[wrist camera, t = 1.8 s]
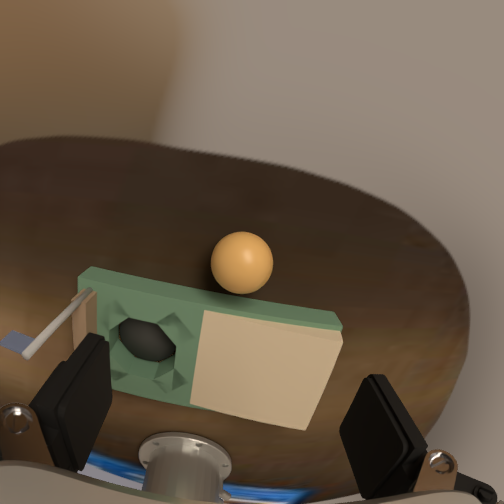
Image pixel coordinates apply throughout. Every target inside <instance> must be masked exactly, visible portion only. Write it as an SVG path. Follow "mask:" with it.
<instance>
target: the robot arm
mask: <svg viewBox="0 0 504 504" xmlns="http://www.w3.org/2000/svg"><path fill="white" fill-rule="evenodd" d="M111 403H112V385H111V370H110V346H109V342H108V341H105V337H104V336H102V335H98V334H95V333H91V332H89V333H88V334H87V335H86V336H85V338H84V339H83V340H82V341H81V343H80V344H79V345H78V347H77V348H76V349H75V351H74V352H73V353H72V355H71V356H70V357H69V359H68V360H67V361H62V362H61V363H60V364H59V365H58V366H57V367H56V369H55V370H54V371H53V373H52V374H51V375H50V377H49V378H48V379H47V381H46V382H45V383H44V385H43V386H42V388H41V389H40V390H39V392H38V393H37V394H36V396H35V397H34V399H33V400H32V401H31V403H30V404H29V406H27V405H25V404H21V403H10V404H6V405H4V406H3V407H1V408H0V504H223V503H224V502H223V500H222V499H224V500H229V499H230V498H231V494H230V493H228V492H227V491H225V490H223V480H224V479H226V478H227V477H228V475H229V474H230V472H231V465H232V464H231V458H230V456H229V454H228V453H227V452H226V450H225V449H224V448H222V447H221V446H220V445H218V444H217V443H215V442H213V441H211V440H209V439H206V438H204V437H201V436H198V435H194V434H189V433H182V432H165V433H158V434H155V435H152V436H150V437H148V438H146V439H145V440H144V441H143V442H142V444H141V446H140V449H139V459H140V462H141V464H142V465H143V466H144V468H145V469H146V474H145V478H144V482H143V487H142V491H140V490H137V489H132V488H128V487H124V486H120V485H116V484H113V483H109V482H106V481H102V480H99V479H95V478H92V477H89V476H85V475H82V474H78V473H77V471H78V470H80V471H82V470H83V469H84V467H85V464H86V462H87V459H88V457H89V454H90V452H91V450H92V447H93V445H94V443H95V440H96V438H97V435H98V433H99V431H100V428H101V426H102V424H103V422H104V419H105V417H106V415H107V413H108V410H109V408H110V406H111ZM339 432H340V436H341V439H342V442H343V445H344V448H345V450H346V453H347V456H348V459H349V462H350V465H351V468H352V471H353V473H354V476H355V479H356V482H357V485H358V488H359V491H360V494H361V496H362V498H364V499H366V500H363V501H355V502H347V503H338V504H504V502H503V501H501V500H500V501H499V502H497V494H496V492H495V490H494V489H493V488H492V487H491V486H489V485H488V484H486V483H483V482H481V481H478V480H476V479H473V478H471V477H468V476H466V475H464V474H461V473H459V472H457V470H458V464H457V461H456V460H455V458H454V457H453V456H452V455H451V454H450V453H448V452H446V451H444V450H440V449H435V450H431V451H429V452H427V451H426V448H427V447H428V445H427V443H426V441H425V440H424V438H423V436H422V435H421V433H420V431H419V430H418V428H417V426H416V425H415V423H414V421H413V420H412V418H411V417H410V415H409V413H408V412H407V410H406V408H405V407H404V405H403V404H402V402H401V400H400V399H399V397H398V395H397V394H396V392H395V391H394V389H393V388H392V386H391V384H390V383H389V381H388V380H387V378H386V376H385V375H383V374H370V375H368V377H367V378H364V379H363V381H362V383H361V385H360V387H359V389H358V392H357V394H356V396H355V398H354V400H353V402H352V404H351V406H350V408H349V410H348V412H347V414H346V416H345V418H344V420H343V422H342V424H341V426H340V430H339ZM219 497H220V498H219ZM221 498H222V499H221Z"/></svg>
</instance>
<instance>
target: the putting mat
mask: <svg viewBox="0 0 504 504" xmlns="http://www.w3.org/2000/svg"><path fill="white" fill-rule="evenodd" d="M71 314H72V328H73V342H74V351H75V349H76V348H77V347H78V345H79V344H80V343H81V341H82V340H83V339H84V338H85V336H86V335H87V334H88V333H89V332H91V333H95V334H98V335H102V336H104V337H105V341H108V342H109V346H110V370H111V385H112V389H114V390H117V391H121V392H125V393H129V394H133V395H137V396H141V397H145V398H149V399H153V400H158V401H162V402H167V403H172V404H177V405H182V406H187V407H193V408H198V409H204V410H211V411H217V412H221V413H225V414H229V415H233V416H237V417H241V418H245V419H250V420H254V421H259V422H263V423H268V424H273V425H278V426H283V427H289V428H294V429H300V430H306V428H307V426H308V424H309V422H310V420H311V418H312V415H313V413H314V411H315V409H316V407H317V404H318V402H319V400H320V398H321V395H322V393H323V391H324V388H325V386H326V384H327V381H328V379H329V377H330V374H331V372H332V369H333V367H334V364H335V362H336V359H337V357H338V354H339V352H340V349H341V347H342V344H343V340H342V336H341V331H342V328H343V326H342V324H341V322H340V321H339V319H338V317H337V316H336V314H335V313H334V312H331V311H324V310H317V309H311V308H304V307H298V306H292V305H285V304H279V303H273V302H267V301H261V300H256V299H250V298H244V297H239V296H233V295H227V294H222V293H217V292H211V291H206V290H201V289H196V288H190V287H185V286H180V285H175V284H170V283H166V282H161V281H156V280H151V279H146V278H142V277H137V276H132V275H128V274H123V273H119V272H114V271H110V270H105V269H101V268H97V267H92V266H91V267H90V268H88V269H87V270H86V271H84V272H83V273H82V274H81V275H79V276H78V294H77V295H76V296H75V297H74V298H72V299H71V304H70V305H69V306H68V307H67V308H66V309H65V310H64V311H63V312H62V313H61V314H60V315H59V316H58V317H57V318H56V319H55V320H53V321H52V322H51V323H50V324H49V325H48V326H47V327H46V328H45V329H44V330H43V331H42V332H41V333H40V334H39V335H38V337H37V338H36V339H34V338H31V337H29V336H26V335H23V334H21V333H18V332H16V331H13V330H12V331H11V332H10V333H9V334H8V335H7V336H6V337H5V338H3V339H2V340H1V341H0V345H1V346H3V347H5V348H8V349H10V350H12V351H14V352H17V353H19V354H22V357H23V358H24V359H25V360H29V359H30V358H31V356H32V355H33V354H34V353H35V352H36V351H37V350H38V349H39V348H40V346H41V345H42V344H43V343H44V342H45V341H46V340H47V339H48V338H49V337H50V336H51V335H52V334H53V332H54V331H55V330H56V329H57V328H58V327H59V326H60V325H61V324H62V323H63V322H64V321H65V320H66V319H67V318H68V317H69V316H70V315H71ZM119 323H121V325H120V336H121V339H122V342H123V343H122V342H121V341H120V339H119ZM175 348H176V354H174V355H173V356H171V357H169V356H170V355H171V354H172V353H173V352H174V350H175ZM133 354H134V355H135V356H137V357H139V358H137V357H135V356H134V355H133ZM167 357H169V358H167ZM166 358H167V359H166ZM163 359H165V360H163ZM160 360H163V361H162V362H160V363H158V362H154V361H160Z"/></svg>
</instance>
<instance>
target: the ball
mask: <svg viewBox="0 0 504 504" xmlns="http://www.w3.org/2000/svg"><path fill="white" fill-rule="evenodd" d="M272 268H273V258H272V253H271V251H270V249H269V247H268V245H267V244H266V243H265V242H264V241H263V240H262V239H261V238H260V237H258V236H257V235H255V234H252V233H248V232H235V233H232V234H229V235H227V236H225V237H224V238H223V239H221V240H220V241H219V242H218V244H217V245H216V247H215V248H214V250H213V253H212V256H211V269H212V273H213V275H214V277H215V279H216V281H217V282H218V283H219V284H220V285H221V286H222V287H223V288H224V289H226V290H228V291H230V292H232V293H237V294H247V293H251V292H254V291H256V290H258V289H259V288H261V287H262V286H263V285H264V284H265V283H266V282H267V280H268V279H269V277H270V275H271V272H272Z"/></svg>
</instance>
